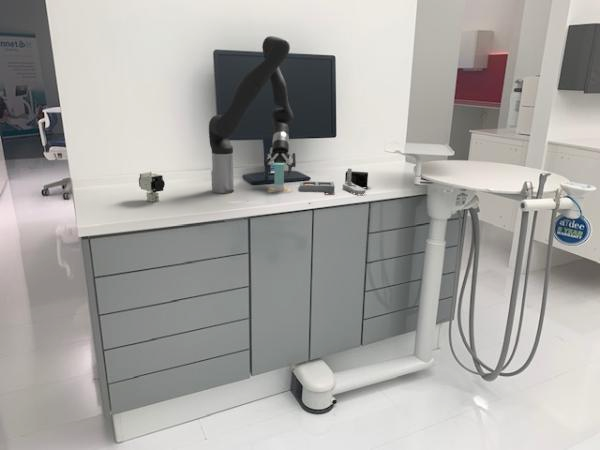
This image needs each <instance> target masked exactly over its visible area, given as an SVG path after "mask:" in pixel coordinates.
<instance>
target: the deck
mask: <svg viewBox="0 0 600 450" xmlns="http://www.w3.org/2000/svg"><path fill="white" fill-rule="evenodd" d="M266 193H283V194H286V193H287V194H289V193H291V188H286V187H285V188H284V191H274V187H268V190H267V192H266Z"/></svg>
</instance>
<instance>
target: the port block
mask: <svg viewBox="0 0 600 450" xmlns="http://www.w3.org/2000/svg"><path fill="white" fill-rule="evenodd" d="M335 187H336V186H335V183H334V181H311V180H309V181H308V180H307V181H306V180H305V181H303V180H302V181H299V192H321V193H323V194H324V193H334V194H335V189H336V188H335Z"/></svg>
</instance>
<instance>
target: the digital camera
mask: <svg viewBox="0 0 600 450" xmlns="http://www.w3.org/2000/svg"><path fill="white" fill-rule="evenodd" d="M347 174H348V170H347V171H345V181H344V183H345V182H347ZM368 178H369V172H368V171H367V172H366V171H353V170H352V172H351V182H352V183H353V184H355V185H357V186H359V187H367V188H368V182H369V181H368V180H369V179H368Z"/></svg>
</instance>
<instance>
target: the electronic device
mask: <svg viewBox="0 0 600 450" xmlns="http://www.w3.org/2000/svg"><path fill="white" fill-rule="evenodd" d="M347 171H348V174H347V182H345V181H344V182H343V183H342V189H343V190H345V191H347V190H348V191H347V192H349V191H350V192H349V193H351V192H352V193H351V194H353V193H355V194H364V193H365V194H366V188H362V187H359V186H357V185H355V184H353V183H352V182H351V172H352V171H353V169H352V168H347ZM355 194H354V195H355Z"/></svg>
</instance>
